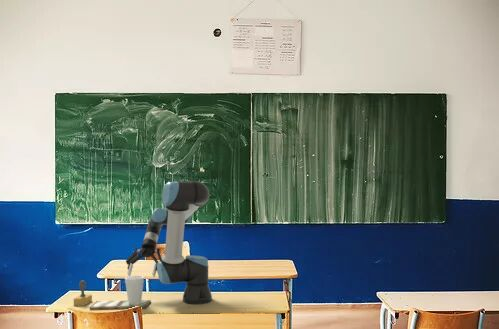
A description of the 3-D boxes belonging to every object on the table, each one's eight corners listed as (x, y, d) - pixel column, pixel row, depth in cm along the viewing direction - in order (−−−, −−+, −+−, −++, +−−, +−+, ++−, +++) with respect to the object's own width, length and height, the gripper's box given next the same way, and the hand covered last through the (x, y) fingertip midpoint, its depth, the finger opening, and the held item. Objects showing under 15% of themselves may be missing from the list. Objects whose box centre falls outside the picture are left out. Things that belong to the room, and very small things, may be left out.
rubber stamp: (81, 300, 292) (81, 278, 292) (92, 301, 292) (91, 278, 291) (73, 305, 282) (73, 282, 282) (84, 306, 282) (83, 282, 282)
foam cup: (139, 305, 275) (139, 279, 275) (122, 305, 277) (121, 279, 277) (146, 301, 285) (146, 275, 284) (130, 300, 286) (129, 275, 286)
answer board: (150, 302, 287) (150, 299, 287) (146, 308, 274) (146, 306, 274) (96, 302, 287) (96, 300, 287) (89, 309, 274) (89, 307, 274)
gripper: (173, 246, 306) (165, 279, 291) (130, 246, 310) (120, 278, 295) (170, 238, 301) (162, 271, 286) (126, 238, 304) (116, 270, 290)
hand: (141, 275), depth 290 cm, fingers open, 13 cm apart
